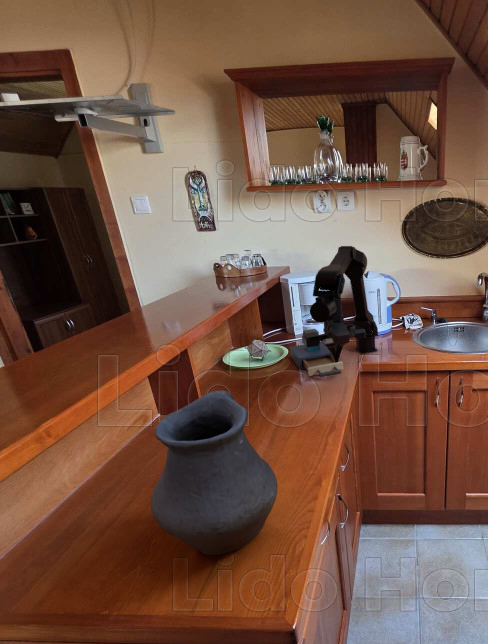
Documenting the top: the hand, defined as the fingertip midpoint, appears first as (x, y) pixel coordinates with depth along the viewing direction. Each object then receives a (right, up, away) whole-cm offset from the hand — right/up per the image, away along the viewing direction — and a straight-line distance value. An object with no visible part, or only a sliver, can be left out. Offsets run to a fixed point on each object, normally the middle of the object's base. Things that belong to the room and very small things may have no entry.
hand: (336, 362), depth 131 cm
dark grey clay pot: (-14, -34, -53) cm, 65 cm away
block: (-12, +6, +24) cm, 28 cm away
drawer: (-6, -2, +16) cm, 17 cm away
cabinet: (-11, +2, +26) cm, 29 cm away
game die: (-32, +2, +29) cm, 43 cm away
